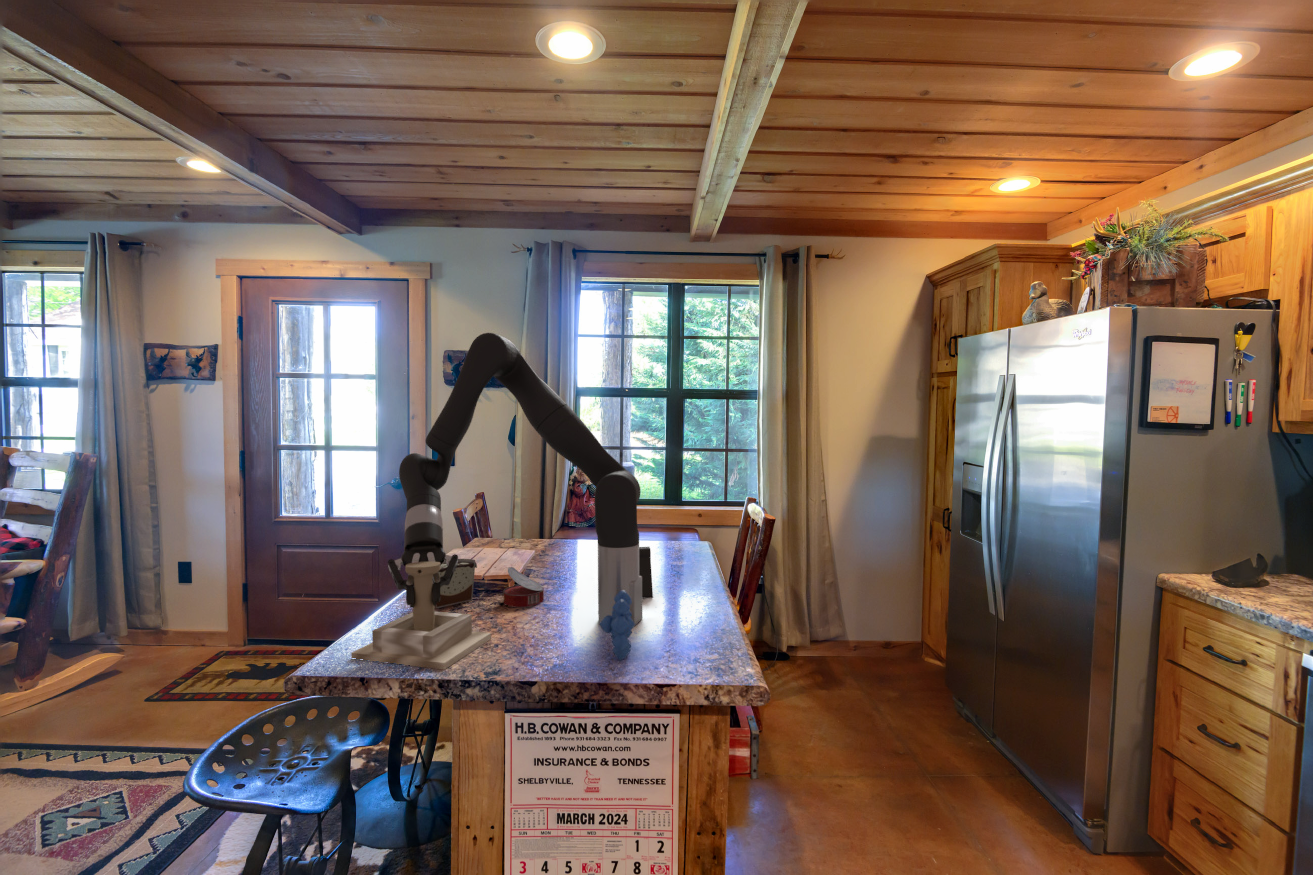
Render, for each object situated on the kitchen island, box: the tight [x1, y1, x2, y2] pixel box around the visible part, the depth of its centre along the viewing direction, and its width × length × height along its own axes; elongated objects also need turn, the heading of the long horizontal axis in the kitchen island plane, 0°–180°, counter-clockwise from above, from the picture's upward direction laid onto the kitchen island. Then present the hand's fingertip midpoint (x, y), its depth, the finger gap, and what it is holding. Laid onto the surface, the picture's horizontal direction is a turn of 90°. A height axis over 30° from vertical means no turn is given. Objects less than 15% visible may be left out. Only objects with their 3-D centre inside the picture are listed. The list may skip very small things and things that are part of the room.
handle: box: [404, 561, 440, 632], centre depth 118 cm, size 5×6×15 cm
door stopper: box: [639, 546, 654, 598], centre depth 156 cm, size 9×6×12 cm, turn 10°
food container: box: [432, 558, 478, 609], centre depth 149 cm, size 12×6×10 cm, turn 135°
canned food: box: [502, 566, 545, 608], centre depth 150 cm, size 11×10×10 cm
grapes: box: [599, 590, 636, 661], centre depth 114 cm, size 12×7×12 cm, turn 179°
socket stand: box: [350, 611, 492, 671], centre depth 118 cm, size 20×16×5 cm
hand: (423, 603), depth 116 cm, fingers closed on handle, 3 cm apart
